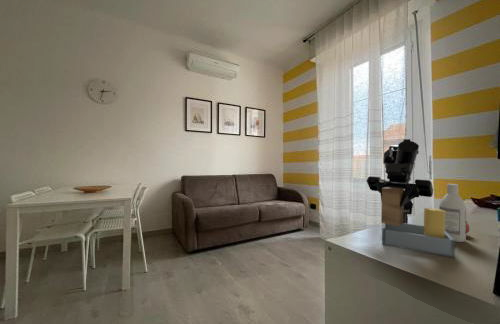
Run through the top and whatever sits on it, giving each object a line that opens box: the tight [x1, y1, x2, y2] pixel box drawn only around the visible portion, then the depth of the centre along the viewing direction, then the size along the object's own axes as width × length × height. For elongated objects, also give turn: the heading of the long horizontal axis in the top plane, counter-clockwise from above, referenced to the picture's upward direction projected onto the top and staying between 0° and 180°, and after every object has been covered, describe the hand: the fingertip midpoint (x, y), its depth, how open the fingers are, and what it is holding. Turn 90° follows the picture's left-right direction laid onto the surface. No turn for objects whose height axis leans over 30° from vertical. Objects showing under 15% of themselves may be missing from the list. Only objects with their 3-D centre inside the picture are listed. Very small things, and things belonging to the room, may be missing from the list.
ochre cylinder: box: [423, 207, 445, 238], centre depth 66 cm, size 5×5×12 cm
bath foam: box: [438, 183, 467, 243], centre depth 75 cm, size 7×7×20 cm
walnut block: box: [380, 187, 405, 226], centre depth 71 cm, size 5×5×12 cm
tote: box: [381, 223, 456, 259], centre depth 70 cm, size 18×14×5 cm
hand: (391, 204), depth 70 cm, fingers closed on walnut block, 5 cm apart
